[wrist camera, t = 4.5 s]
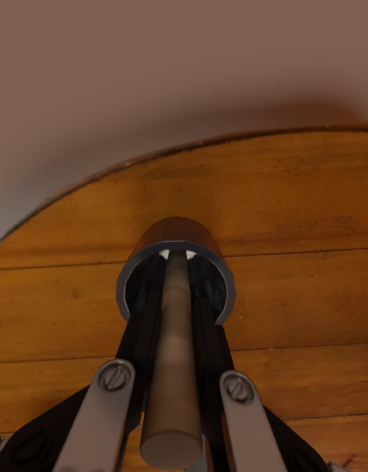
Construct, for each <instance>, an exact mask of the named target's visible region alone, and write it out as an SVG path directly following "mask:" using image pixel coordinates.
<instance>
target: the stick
mask: <svg viewBox="0 0 368 472" xmlns="http://www.w3.org/2000/svg"><path fill="white" fill-rule="evenodd" d="M162 296H163V300H162V308H161V315H160V322H159V329H158V336H157V343H156V351H155V358H154V365H153V372H152V379H151V382H150V384H149V387H148V394H147V401H146V407H145V414H144V421H143V427H142V434H141V441H140V454H141V457H142V459H143V460H144V461H145V462H146V463H147V464H149V465H150V466H152V467H154V468H157V469H161V470H180V469H184V468H187V467H189V466H191V465H193V464H194V463H196V462H197V461H198V460H199V458H200V457H201V455H202V451H203V442H202V430H201V418H200V406H199V394H198V385H197V376H196V363H195V351H194V339H193V326H192V310H191V299H190V287H189V275H188V263H187V255H186V253H185V251H183V250H182V249H179V250H171V251H170V253H169V254H168V260H167V266H166V273H165V280H164V286H163V293H162Z"/></svg>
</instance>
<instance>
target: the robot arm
mask: <svg viewBox="0 0 368 472" xmlns="http://www.w3.org/2000/svg"><path fill="white" fill-rule="evenodd" d="M159 294H160V293H159V292H151V291H150V292H149V296H148V300H147V304H146V308H145V312H144V315H143V316H136V315H131V316H130V318H129V321H128V323H127V326H126V329H125V332H124V335H123V338H122V340H121V343H120V346H119V349H118V352H117V354H116V357H115V359H112V360H109V361H107V362H105V363H104V364H103V365H101V366H100V367H99V368H98V370H97V372H96V373H95V375H94V378H93V380H92V382H91V384H90V385H88V386H87V387H85V388H83V389H82V390H80V391H79V392H77V393H75V394H74V395H72V396H71V397H69V398H67V399H66V400H64V401H63V402H61V403H59V404H58V405H56V406H55V407H53V408H51V409H50V410H48V411H47V412H45V413H43V414H42V415H40V416H39V417H37V418H35V419H34V420H32V421H31V422H29V423H27V424H26V425H24V426H23V427H22V428H20V429H19V430H18V431H16V432H15V433H14V434H13V435H12V436H11V437H9V438H6V439H2V440H1V436H0V472H122V467H123V462H124V457H125V452H126V448H127V443H128V438H129V433H130V432H131V431H133V430H134V429H135V428H136V427H137V426H138V425H139V423H140V420H141V414H142V411H143V412H145V407H146V401H147V394H148V387H149V384H150V382H151V379H152V372H153V365H154V358H155V351H156V343H157V336H158V329H159V322H160V315H161V308H162V300H163V296H161V295H159ZM192 326H193V339H194V351H195V363H196V376H197V385H198V394H199V406H200V418H201V430H202V433H203V435H204V436H205V452H206V461H207V471H208V472H352V471H350V470H348V469H346V468H344V467H342V466H340V465H338V464H336V463H334V462H332V461H330V462H329V463H326V462H324V460H323V459H322V458H321V456H320V455H319V454H318V453H317V452H316V451H315V450H314V449H313V448H312V447H311V446H310V445H309V444H308V443H307V442H305V441H304V440H303V439H302V438H301V437H300V436H299V435H297V434H296V433H295V432H294V431H293V430H292V429H290V428H289V427H288V426H287V425H286V424H285V423H284V422H282V421H281V420H280V419H279V418H278V417H277V416H276V415H274V414H273V413H272V412H271V411H270V410H269V409H267V408H266V407H265V406H264V405H263V404H262V402H261V399H260V396H259V393H258V391H257V388H256V386H255V384H254V383H253V381H252V380H251V379H250V378H249V377H248V376H247V375H245V374H244V373H242V372H240V371H237V370H235V368H234V364H233V361H232V357H231V353H230V350H229V346H228V343H227V339H226V336H225V332H224V328H223V326H222V325H216V324H215V322H214V318H213V314H212V309H211V305H210V301H209V298H201V297H199V298H198V300H194V305H193V310H192Z"/></svg>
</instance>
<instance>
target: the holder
mask: <svg viewBox="0 0 368 472" xmlns="http://www.w3.org/2000/svg"><path fill="white" fill-rule="evenodd" d="M179 249H182V250H183V251H185V253H186V255H187V263H188V275H189V287H190V299H191V310H193V305H194V300H198V298H199V297H201V298H209V301H210V305H211V309H212V314H213V318H214V322H215V324H216V325H223V324H224V322H225V321H226V319H227V318H228V317H229V315H230V314H231V312H232V309H233V305H234V301H235V298H236V289H235V282H234V277H233V274H232V272H231V271H230V269H229V267H228V265H227V263H226V261H225V259H224V257H223V255H222V253H221V251H220V250H219V248H218V246H217V244H216V242H215V240H214V239H213V237H212V235H211V234H210V232H209V231H208V230H207V229H206V228H205V227H204V226H203V225H201V224H200V223H199V222H197V221H195V220H192V219H189V218H185V217H170V218H165V219H162V220H160V221H158V222H156V223H155V224H153V225H152V226H151V227H149V228H148V230H147V231H146V232H145V233H144V234H143V235H142V237H141V239H140V240H139V242H138V243H137V245H136V247H135V248H134V250H133V251H132V253H131V255H130V256H129V258H128V260H127V261H126V263H125V265H124V267H123V269H122V271H121V273H120V275H119V277H118V279H117V286H116V301H117V304H118V306H119V309H120V312H121V315H122V317H123V318H124V319H125V320H126V322H127V323H128V321H129V318H130V316H131V315H136V316H143V315H144V312H145V308H146V304H147V300H148V296H149V292H150V291H151V292H159V293H160V294H159V295H161V296H162V293H163V286H164V280H165V273H166V266H167V260H168V254H169V253H170V251H171V250H179Z"/></svg>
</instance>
